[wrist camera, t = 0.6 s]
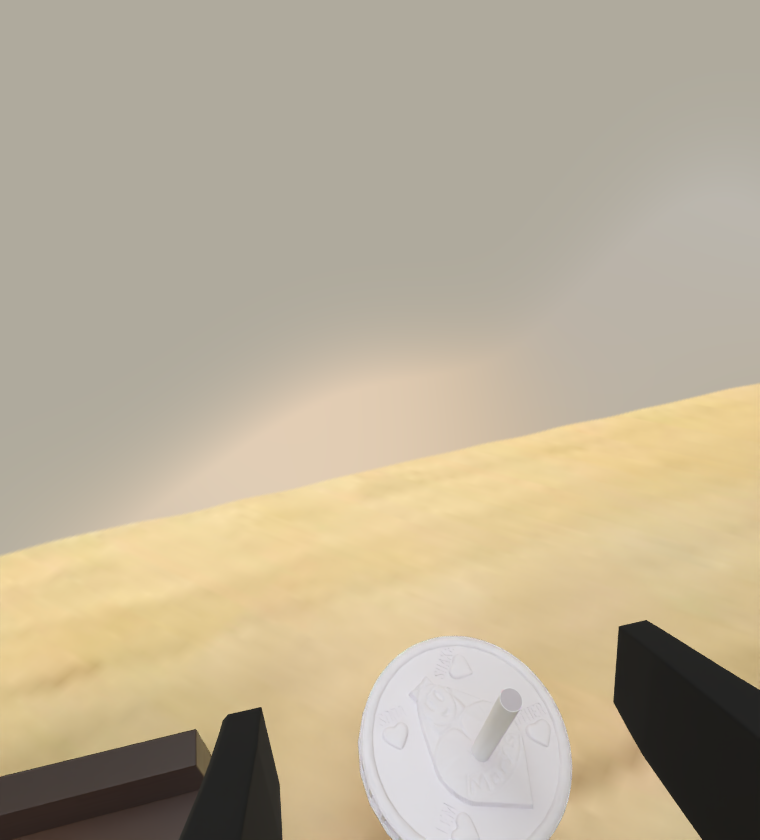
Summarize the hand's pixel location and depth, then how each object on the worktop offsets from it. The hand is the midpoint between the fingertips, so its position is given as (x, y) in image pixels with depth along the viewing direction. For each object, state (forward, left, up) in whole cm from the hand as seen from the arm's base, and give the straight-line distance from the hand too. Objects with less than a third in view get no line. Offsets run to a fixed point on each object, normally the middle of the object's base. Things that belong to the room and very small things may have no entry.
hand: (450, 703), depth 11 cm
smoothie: (+1, -2, -17) cm, 17 cm away
